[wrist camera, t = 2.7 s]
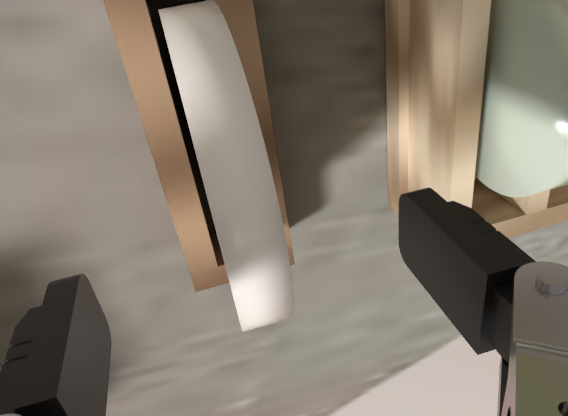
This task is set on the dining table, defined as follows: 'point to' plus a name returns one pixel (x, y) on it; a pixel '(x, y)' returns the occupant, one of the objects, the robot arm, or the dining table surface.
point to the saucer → (525, 98)
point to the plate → (231, 161)
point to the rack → (447, 112)
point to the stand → (167, 130)
